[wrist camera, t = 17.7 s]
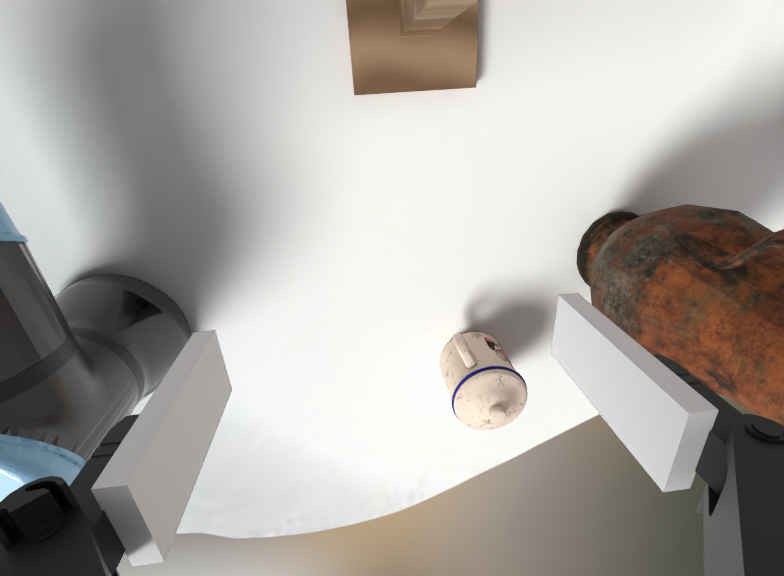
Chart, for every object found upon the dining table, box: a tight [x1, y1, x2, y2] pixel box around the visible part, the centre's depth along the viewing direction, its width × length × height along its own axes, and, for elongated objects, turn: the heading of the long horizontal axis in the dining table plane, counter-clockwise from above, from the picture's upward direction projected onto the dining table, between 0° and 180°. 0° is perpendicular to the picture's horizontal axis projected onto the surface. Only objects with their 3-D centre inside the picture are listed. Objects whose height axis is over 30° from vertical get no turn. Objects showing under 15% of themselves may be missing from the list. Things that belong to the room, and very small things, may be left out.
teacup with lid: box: [440, 332, 527, 430], centre depth 50 cm, size 12×9×12 cm
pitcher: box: [577, 205, 784, 426], centre depth 37 cm, size 17×21×30 cm
